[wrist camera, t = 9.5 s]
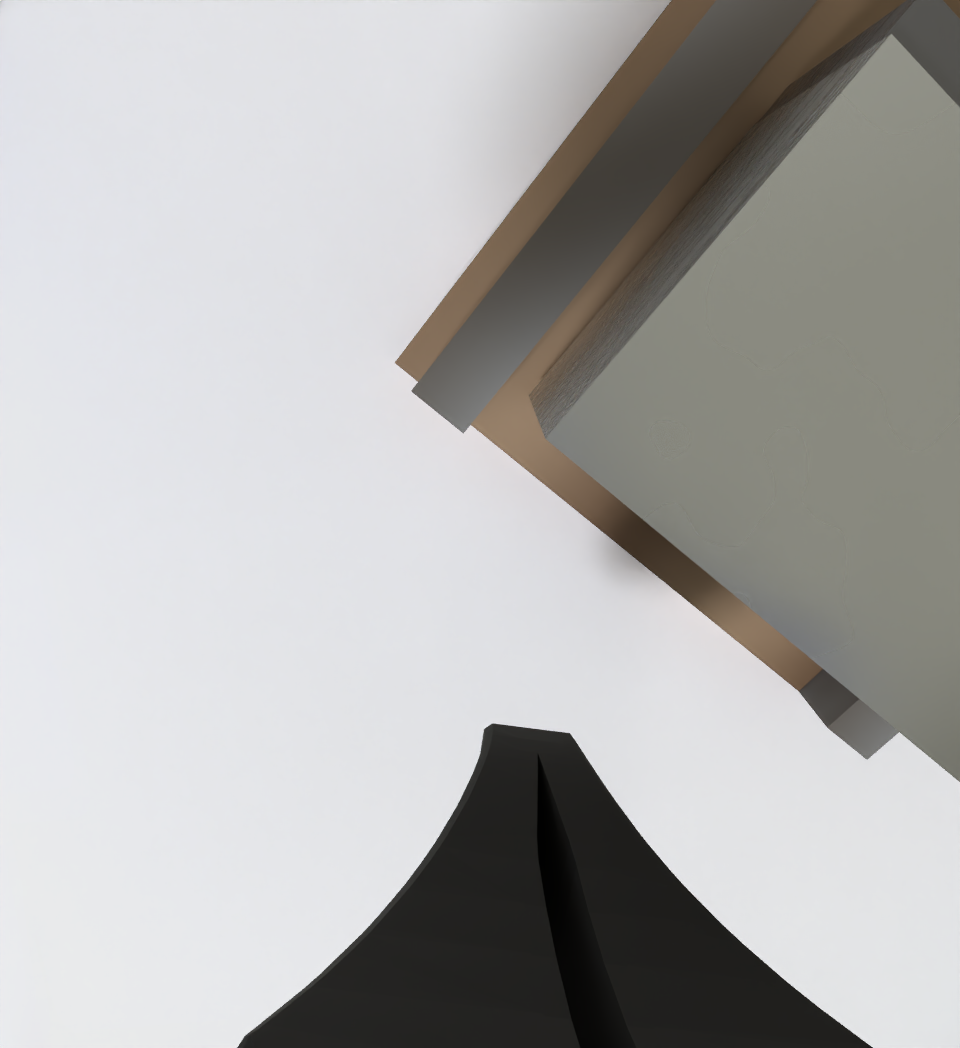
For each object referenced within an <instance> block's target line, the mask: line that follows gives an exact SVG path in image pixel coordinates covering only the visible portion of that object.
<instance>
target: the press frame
mask: <svg viewBox="0 0 960 1048" xmlns="http://www.w3.org/2000/svg"><path fill="white" fill-rule="evenodd" d="M905 1H906V0H672V1H671V2H670V3H669V5H668V6H667V7H666V8H665V10H664V11H663V12H662V14H661V15H660V16H659V18H658V19H657V20H656V22H655V23H654V24H653V25H652V27H651V28H650V29H649V31H648V32H647V33H646V35H645V36H644V37H643V39H642V40H641V41H640V43H639V44H638V45H637V46H636V48H635V49H634V50H633V52H632V53H631V54H630V56H629V57H628V58H627V60H626V61H625V62H624V63H623V65H622V66H621V67H620V69H619V70H618V71H617V73H616V74H615V75H614V77H613V78H612V79H611V80H610V82H609V83H608V84H607V86H606V87H605V88H604V90H603V91H602V92H601V94H600V95H599V96H598V97H597V99H596V100H595V101H594V103H593V104H592V105H591V107H590V108H589V109H588V111H587V112H586V113H585V114H584V116H583V117H582V118H581V120H580V121H579V122H578V124H577V125H576V126H575V128H574V129H573V130H572V131H571V133H570V134H569V135H568V137H567V138H566V139H565V141H564V142H563V143H562V145H561V146H560V147H559V149H558V150H557V151H556V152H555V154H554V155H553V156H552V158H551V159H550V160H549V162H548V163H547V164H546V166H545V167H544V168H543V169H542V171H541V172H540V173H539V175H538V176H537V177H536V179H535V180H534V181H533V183H532V184H531V185H530V186H529V188H528V189H527V190H526V192H525V193H524V194H523V196H522V197H521V198H520V200H519V201H518V202H517V203H516V205H515V206H514V207H513V209H512V210H511V211H510V213H509V214H508V215H507V217H506V218H505V219H504V220H503V222H502V223H501V224H500V226H499V227H498V228H497V230H496V231H495V232H494V234H493V235H492V236H491V237H490V239H489V240H488V241H487V243H486V244H485V245H484V247H483V248H482V249H481V251H480V252H479V253H478V255H477V256H476V257H475V258H474V260H473V261H472V262H471V264H470V265H469V266H468V268H467V269H466V270H465V272H464V273H463V274H462V275H461V277H460V278H459V279H458V281H457V282H456V283H455V285H454V286H453V287H452V289H451V290H450V291H449V292H448V294H447V295H446V296H445V298H444V299H443V300H442V302H441V303H440V304H439V306H438V307H437V308H436V309H435V311H434V312H433V313H432V315H431V316H430V317H429V319H428V320H427V321H426V323H425V324H424V325H423V326H422V328H421V329H420V330H419V332H418V333H417V334H416V336H415V337H414V338H413V340H412V341H411V342H410V343H409V345H408V346H407V347H406V349H405V350H404V351H403V353H402V354H401V355H400V357H399V358H398V359H397V361H396V362H395V363H396V364H397V365H398V366H399V367H401V368H402V369H403V370H404V371H406V372H407V373H408V374H409V375H410V376H412V377H413V378H414V379H415V380H417V381H418V383H417V384H416V386H415V387H414V388H413V389H412V392H413V393H414V394H415V395H417V396H418V397H419V398H420V399H422V400H423V401H424V402H425V403H426V404H428V405H429V406H430V407H431V408H433V409H434V410H435V411H436V412H438V413H439V414H440V415H441V416H443V417H444V418H445V419H446V420H448V421H449V422H450V423H451V424H452V425H454V426H455V427H456V428H457V429H459V430H460V431H461V432H462V433H464V432H465V431H466V430H467V428H468V427H469V426H470V425H472V426H473V427H474V428H476V429H477V430H478V431H479V432H481V433H482V434H483V435H484V436H485V437H487V438H488V439H489V440H490V441H492V442H493V443H494V444H495V445H497V446H498V447H499V448H500V449H501V450H503V451H504V452H505V453H506V454H508V455H509V456H510V457H511V458H513V459H514V460H515V461H516V462H517V463H519V464H520V465H521V466H522V467H524V468H525V469H526V470H527V471H529V472H530V473H531V474H532V475H533V476H535V477H536V478H537V479H538V480H540V481H541V482H542V483H543V484H545V485H546V486H547V487H548V488H549V489H551V490H552V491H553V492H554V493H556V494H557V495H558V496H559V497H561V498H562V499H563V500H564V501H565V502H567V503H568V504H569V505H570V506H572V507H573V508H574V509H575V510H577V511H578V512H579V513H580V514H581V515H583V516H584V517H585V518H586V519H588V520H589V521H590V522H591V523H592V524H594V525H595V526H596V527H597V528H599V529H600V530H601V531H602V532H604V533H605V534H606V535H607V536H608V537H610V538H611V539H612V540H613V541H615V542H616V543H617V544H618V545H620V546H621V547H622V548H623V549H624V550H626V551H627V552H628V553H629V554H631V555H632V556H633V557H634V558H636V559H637V560H638V561H639V562H640V563H642V564H643V565H644V566H645V567H647V568H648V569H649V570H650V571H652V572H653V573H654V574H655V575H656V576H658V577H659V578H660V579H661V580H663V581H664V582H665V583H666V584H668V585H669V586H670V587H671V588H672V589H674V590H675V591H676V592H677V593H679V594H680V595H681V596H682V597H684V598H685V599H686V600H687V601H688V602H690V603H691V604H692V605H693V606H695V607H696V608H697V609H698V610H699V611H701V612H702V613H703V614H704V615H706V616H707V617H708V618H709V619H711V620H712V621H713V622H714V623H715V624H717V625H718V626H719V627H720V628H722V629H723V630H724V631H725V632H727V633H728V634H729V635H730V636H731V637H733V638H734V639H735V640H736V641H738V642H739V643H740V644H741V645H743V646H744V647H745V648H746V649H747V650H749V651H750V652H751V653H752V654H754V655H755V656H756V657H757V658H759V659H760V660H761V661H762V662H763V663H765V664H766V665H767V666H768V667H770V668H771V669H772V670H773V671H775V672H776V673H777V674H778V675H779V676H781V677H782V678H783V679H784V680H786V681H787V682H788V683H789V684H791V685H792V686H793V687H794V688H795V689H797V690H798V691H799V692H800V693H801V695H802V696H803V697H804V698H805V700H806V701H807V702H808V704H809V705H810V706H811V707H812V709H813V710H814V711H815V712H816V714H817V715H818V716H819V718H820V719H821V720H822V721H823V723H824V724H825V725H826V726H827V728H829V729H830V730H831V731H832V732H833V733H835V734H836V735H837V736H838V737H840V738H841V739H842V740H843V741H845V742H846V743H847V744H848V745H850V746H851V747H852V748H853V749H854V750H856V751H857V752H858V753H859V754H861V755H862V756H863V757H864V758H866V759H869V758H870V757H871V756H872V755H873V754H874V753H875V752H877V751H878V750H879V749H880V748H881V747H882V746H884V745H885V744H886V743H887V742H888V741H889V740H890V739H892V738H893V737H894V736H895V735H896V734H897V733H899V731H898V730H896V729H895V728H894V727H893V726H892V725H890V724H889V723H888V722H887V721H886V720H884V719H883V718H882V717H881V716H879V715H878V714H877V713H876V712H875V711H873V710H872V709H871V708H870V707H869V706H867V705H866V704H865V703H864V702H863V701H861V700H860V699H859V698H858V697H857V696H855V695H854V694H853V693H852V692H851V691H849V690H848V689H847V688H846V687H844V686H843V685H842V684H841V683H840V682H838V681H837V680H836V679H835V678H834V677H832V676H831V675H830V674H829V673H828V672H826V671H825V670H824V669H823V668H822V667H820V666H819V665H818V664H817V663H815V662H814V661H813V660H812V659H811V658H809V657H808V656H807V655H806V654H805V653H803V652H802V651H801V650H800V649H799V648H797V647H796V646H795V645H794V644H793V643H791V642H790V641H789V640H788V639H786V638H785V637H784V636H783V635H782V634H780V633H779V632H778V631H777V630H776V629H774V628H773V627H772V626H771V625H770V624H768V623H767V622H766V621H765V620H764V619H762V618H761V617H760V616H759V615H758V614H756V613H755V612H754V611H753V610H751V609H750V608H749V607H748V606H747V605H745V604H744V603H743V602H742V601H741V600H739V599H738V598H737V597H736V596H735V595H733V594H732V593H731V592H730V591H729V590H727V589H726V588H725V587H724V586H722V585H721V584H720V583H719V582H718V581H716V580H715V579H714V578H713V577H712V576H710V575H709V574H708V573H707V572H706V571H704V570H703V569H702V568H701V567H700V566H698V565H697V564H696V563H695V562H694V561H692V560H691V559H690V558H689V557H687V556H686V555H685V554H684V553H683V552H681V551H680V550H679V549H678V548H677V547H675V546H674V545H673V544H672V543H671V542H669V541H668V540H667V539H666V538H665V537H663V536H662V535H661V534H660V533H658V532H657V531H656V530H655V529H654V528H652V527H651V526H650V525H649V524H648V523H646V522H645V521H644V520H643V519H642V518H640V517H639V516H638V515H637V514H636V513H634V512H633V511H632V510H631V509H629V508H628V507H627V506H626V505H625V504H623V503H622V502H621V501H620V500H619V499H617V498H616V497H615V496H614V495H613V494H611V493H610V492H609V491H608V490H607V489H605V488H604V487H603V486H602V485H601V484H599V483H598V482H597V481H596V480H594V479H593V478H592V477H591V476H590V475H588V474H587V473H586V472H585V471H584V470H582V469H581V468H580V467H579V466H578V465H576V464H575V463H574V462H573V461H572V460H570V459H569V458H568V457H567V456H565V455H564V454H563V453H562V452H561V451H559V450H558V449H557V448H556V447H555V446H553V445H552V444H551V443H550V442H549V441H547V440H546V439H545V437H544V434H543V432H542V429H541V426H540V424H539V421H538V419H537V416H536V414H535V411H534V408H533V406H532V403H531V401H530V398H529V396H528V395H529V394H530V393H531V392H532V391H533V389H534V388H535V387H536V386H537V385H538V383H539V382H540V381H541V380H542V379H543V377H544V376H545V375H546V374H547V373H548V371H549V370H550V369H551V368H552V367H553V365H554V364H555V363H556V362H557V361H558V359H559V358H560V357H561V356H562V355H563V353H564V352H565V351H566V350H567V348H568V347H569V346H570V345H571V344H572V342H573V341H574V340H575V339H576V338H577V336H578V335H579V334H580V333H581V332H582V330H583V329H584V328H585V327H586V326H587V324H588V323H589V322H590V321H591V320H592V318H593V317H594V316H595V315H596V314H597V312H598V311H599V310H600V309H601V308H602V306H603V305H604V304H605V303H606V302H607V300H608V299H609V298H610V297H611V296H612V294H613V293H614V292H615V291H616V290H617V288H618V287H619V286H620V285H621V284H622V282H623V281H624V280H625V279H626V278H627V276H628V275H629V274H630V273H631V272H632V270H633V269H634V268H635V267H636V266H637V264H638V263H639V262H640V261H641V260H642V258H643V257H644V256H645V255H646V254H647V252H648V251H649V250H650V249H651V247H652V246H653V245H654V244H655V243H656V241H657V240H658V239H659V238H660V237H661V235H662V234H663V233H664V232H665V231H666V229H667V228H668V227H669V226H670V225H671V223H672V222H673V221H674V220H675V219H676V217H677V216H678V215H679V214H680V213H681V211H682V210H683V209H684V208H685V207H686V205H687V204H688V203H689V202H690V201H691V199H692V198H693V197H694V196H695V195H696V193H697V192H698V191H699V190H700V189H701V187H702V186H703V185H704V184H705V183H706V181H707V180H708V179H709V178H710V177H711V175H712V174H713V173H714V172H715V171H716V169H717V168H718V167H719V166H720V165H721V163H722V162H723V161H724V160H725V159H726V157H727V156H728V155H729V154H730V152H731V151H732V150H733V149H734V148H735V146H736V145H737V144H738V143H739V142H740V140H741V139H742V138H743V137H744V136H745V134H746V133H747V132H748V131H749V130H750V128H751V127H752V126H753V125H755V124H756V123H758V121H759V120H760V119H761V118H762V117H763V115H764V114H765V113H766V112H767V111H768V109H769V108H770V107H771V106H772V105H773V103H774V102H775V101H776V100H777V99H778V97H779V96H780V95H781V94H782V93H783V91H784V90H785V89H786V88H787V87H788V86H789V85H790V84H791V83H793V82H794V81H796V80H797V79H798V78H800V77H801V76H802V75H804V74H805V73H807V72H808V71H809V70H811V69H812V68H814V67H815V66H816V65H818V64H819V63H820V62H822V61H823V60H825V59H826V58H827V57H829V56H830V55H832V54H833V53H834V52H836V51H837V50H839V49H840V48H841V47H843V46H844V45H845V44H847V43H848V42H850V41H851V40H852V39H854V38H855V37H857V36H858V35H859V34H861V33H862V32H863V31H865V30H866V29H868V28H869V27H870V26H872V25H873V24H875V23H876V22H877V21H879V20H880V19H881V18H883V17H884V16H886V15H887V14H888V13H890V12H891V11H893V10H894V9H895V8H897V7H898V6H900V5H901V4H902V3H904V2H905ZM943 1H944V2H945V3H946V4H947V5H948V6H949V7H950V9H951V10H952V11H953V12H954V13H955V14H956V15H957V16H958V17H959V19H960V0H943Z"/></svg>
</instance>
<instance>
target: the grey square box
mask: <svg viewBox="0 0 960 1048" xmlns="http://www.w3.org/2000/svg"><path fill="white" fill-rule="evenodd" d="M528 396H529V398H530V401H531V403H532V406H533V408H534V411H535V414H536V416H537V419H538V421H539V424H540V426H541V429H542V432H543V434H544V437H545V439H546V440H547V441H549V442H550V443H551V444H552V445H553V446H555V447H556V448H557V449H558V450H559V451H561V452H562V453H563V454H564V455H565V456H567V457H568V458H569V459H570V460H572V461H573V462H574V463H575V464H576V465H578V466H579V467H580V468H581V469H582V470H584V471H585V472H586V473H587V474H588V475H590V476H591V477H592V478H593V479H594V480H596V481H597V482H598V483H599V484H601V485H602V486H603V487H604V488H605V489H607V490H608V491H609V492H610V493H611V494H613V495H614V496H615V497H616V498H617V499H619V500H620V501H621V502H622V503H623V504H625V505H626V506H627V507H628V508H629V509H631V510H632V511H633V512H634V513H636V514H637V515H638V516H639V517H640V518H642V519H643V520H644V521H645V522H646V523H648V524H649V525H650V526H651V527H652V528H654V529H655V530H656V531H657V532H658V533H660V534H661V535H662V536H663V537H665V538H666V539H667V540H668V541H669V542H671V543H672V544H673V545H674V546H675V547H677V548H678V549H679V550H680V551H681V552H683V553H684V554H685V555H686V556H687V557H689V558H690V559H691V560H692V561H694V562H695V563H696V564H697V565H698V566H700V567H701V568H702V569H703V570H704V571H706V572H707V573H708V574H709V575H710V576H712V577H713V578H714V579H715V580H716V581H718V582H719V583H720V584H721V585H722V586H724V587H725V588H726V589H727V590H729V591H730V592H731V593H732V594H733V595H735V596H736V597H737V598H738V599H739V600H741V601H742V602H743V603H744V604H745V605H747V606H748V607H749V608H750V609H751V610H753V611H754V612H755V613H756V614H758V615H759V616H760V617H761V618H762V619H764V620H765V621H766V622H767V623H768V624H770V625H771V626H772V627H773V628H774V629H776V630H777V631H778V632H779V633H780V634H782V635H783V636H784V637H785V638H786V639H788V640H789V641H790V642H791V643H793V644H794V645H795V646H796V647H797V648H799V649H800V650H801V651H802V652H803V653H805V654H806V655H807V656H808V657H809V658H811V659H812V660H813V661H814V662H815V663H817V664H818V665H819V666H820V667H822V668H823V669H824V670H825V671H826V672H828V673H829V674H830V675H831V676H832V677H834V678H835V679H836V680H837V681H838V682H840V683H841V684H842V685H843V686H844V687H846V688H847V689H848V690H849V691H851V692H852V693H853V694H854V695H855V696H857V697H858V698H859V699H860V700H861V701H863V702H864V703H865V704H866V705H867V706H869V707H870V708H871V709H872V710H873V711H875V712H876V713H877V714H878V715H879V716H881V717H882V718H883V719H884V720H886V721H887V722H888V723H889V724H890V725H892V726H893V727H894V728H895V729H896V730H898V731H899V732H900V733H901V734H902V735H904V736H905V737H906V738H907V739H908V740H910V741H911V742H912V743H913V744H915V745H916V746H917V747H918V748H919V749H921V750H922V751H923V752H924V753H925V754H927V755H928V756H929V757H930V758H931V759H933V760H934V761H935V762H936V763H937V764H939V765H940V766H941V767H942V768H943V769H945V770H946V771H947V772H948V773H950V774H951V775H952V776H953V777H954V778H956V779H957V780H958V781H959V782H960V19H959V17H958V16H957V15H956V14H955V13H954V12H953V11H952V10H951V9H950V7H949V6H948V5H947V4H946V3H945V2H944V1H943V0H906V1H905V2H904V3H902V4H901V5H900V6H898V7H897V8H895V9H894V10H893V11H891V12H890V13H888V14H887V15H886V16H884V17H883V18H881V19H880V20H879V21H877V22H876V23H875V24H873V25H872V26H870V27H869V28H868V29H866V30H865V31H863V32H862V33H861V34H859V35H858V36H857V37H855V38H854V39H852V40H851V41H850V42H848V43H847V44H845V45H844V46H843V47H841V48H840V49H839V50H837V51H836V52H834V53H833V54H832V55H830V56H829V57H827V58H826V59H825V60H823V61H822V62H820V63H819V64H818V65H816V66H815V67H814V68H812V69H811V70H809V71H808V72H807V73H805V74H804V75H802V76H801V77H800V78H798V79H797V80H796V81H794V82H793V83H791V84H790V85H789V86H788V87H787V88H786V89H785V90H784V91H783V93H782V94H781V95H780V96H779V97H778V99H777V100H776V101H775V102H774V103H773V105H772V106H771V107H770V108H769V109H768V111H767V112H766V113H765V114H764V115H763V117H762V118H761V119H760V120H759V121H758V123H756V124H755V125H753V126H752V127H751V128H750V130H749V131H748V132H747V133H746V134H745V136H744V137H743V138H742V139H741V140H740V142H739V143H738V144H737V145H736V146H735V148H734V149H733V150H732V151H731V152H730V154H729V155H728V156H727V157H726V159H725V160H724V161H723V162H722V163H721V165H720V166H719V167H718V168H717V169H716V171H715V172H714V173H713V174H712V175H711V177H710V178H709V179H708V180H707V181H706V183H705V184H704V185H703V186H702V187H701V189H700V190H699V191H698V192H697V193H696V195H695V196H694V197H693V198H692V199H691V201H690V202H689V203H688V204H687V205H686V207H685V208H684V209H683V210H682V211H681V213H680V214H679V215H678V216H677V217H676V219H675V220H674V221H673V222H672V223H671V225H670V226H669V227H668V228H667V229H666V231H665V232H664V233H663V234H662V235H661V237H660V238H659V239H658V240H657V241H656V243H655V244H654V245H653V246H652V247H651V249H650V250H649V251H648V252H647V254H646V255H645V256H644V257H643V258H642V260H641V261H640V262H639V263H638V264H637V266H636V267H635V268H634V269H633V270H632V272H631V273H630V274H629V275H628V276H627V278H626V279H625V280H624V281H623V282H622V284H621V285H620V286H619V287H618V288H617V290H616V291H615V292H614V293H613V294H612V296H611V297H610V298H609V299H608V300H607V302H606V303H605V304H604V305H603V306H602V308H601V309H600V310H599V311H598V312H597V314H596V315H595V316H594V317H593V318H592V320H591V321H590V322H589V323H588V324H587V326H586V327H585V328H584V329H583V330H582V332H581V333H580V334H579V335H578V336H577V338H576V339H575V340H574V341H573V342H572V344H571V345H570V346H569V347H568V348H567V350H566V351H565V352H564V353H563V355H562V356H561V357H560V358H559V359H558V361H557V362H556V363H555V364H554V365H553V367H552V368H551V369H550V370H549V371H548V373H547V374H546V375H545V376H544V377H543V379H542V380H541V381H540V382H539V383H538V385H537V386H536V387H535V388H534V389H533V391H532V392H531V393H530V394H529V395H528Z"/></svg>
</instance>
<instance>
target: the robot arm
mask: <svg viewBox="0 0 960 1048" xmlns="http://www.w3.org/2000/svg"><path fill="white" fill-rule="evenodd" d="M237 1048H873V1047H871V1046H870V1045H868V1044H867V1043H866V1042H864V1041H863V1040H862V1039H860V1038H859V1037H858V1036H856V1035H855V1034H853V1033H852V1032H851V1031H849V1030H848V1029H847V1028H845V1027H844V1026H843V1025H841V1024H840V1023H839V1022H837V1021H836V1020H835V1019H833V1018H832V1017H831V1016H829V1015H828V1014H827V1013H825V1012H824V1011H823V1010H821V1009H820V1008H819V1007H817V1006H816V1005H815V1004H814V1003H812V1002H811V1001H810V1000H809V999H807V998H806V997H805V996H804V995H802V994H801V993H800V992H799V991H797V990H796V989H795V988H794V987H792V986H791V985H790V984H789V983H787V982H786V981H785V980H784V979H783V978H782V977H780V976H779V975H778V974H777V973H776V972H775V971H773V970H772V969H771V968H770V967H769V966H768V965H767V964H765V963H764V962H763V961H762V960H761V959H760V958H759V957H757V956H756V955H755V954H754V953H753V952H752V951H750V950H749V949H748V948H747V947H746V946H745V945H744V944H742V943H741V942H740V941H739V940H738V939H737V938H736V937H735V936H734V935H733V934H732V933H731V932H730V931H728V930H727V929H726V928H725V927H724V926H723V925H722V924H721V923H720V922H719V921H718V920H717V919H716V918H715V917H714V916H713V915H712V914H711V913H710V912H709V911H708V910H707V909H706V908H705V907H704V906H703V905H702V904H701V903H700V902H699V901H698V900H697V899H696V898H695V897H694V896H693V895H692V894H691V893H690V892H689V891H688V889H687V888H686V887H685V886H684V885H683V884H682V883H681V882H680V881H679V880H678V879H677V878H676V876H675V875H674V874H673V873H672V872H671V871H670V870H669V869H668V867H667V866H666V865H665V864H664V863H663V861H662V860H661V859H660V858H659V857H658V855H657V854H656V853H655V852H654V851H653V850H652V848H651V847H650V846H649V845H648V844H647V842H646V841H645V840H644V839H643V837H642V836H641V835H640V833H639V832H638V831H637V830H636V828H635V827H634V825H633V824H632V823H631V821H630V820H629V819H628V817H627V816H626V815H625V813H624V812H623V811H622V809H621V808H620V807H619V805H618V804H617V802H616V801H615V800H614V798H613V797H612V795H611V794H610V792H609V791H608V790H607V788H606V787H605V785H604V784H603V782H602V781H601V779H600V778H599V776H598V775H597V773H596V772H595V770H594V769H593V767H592V766H591V764H590V763H589V761H588V760H587V758H586V757H585V755H584V753H583V752H582V750H581V749H580V747H579V746H578V744H577V743H576V741H575V740H574V738H573V737H572V736H571V734H570V733H563V732H555V731H547V730H539V729H531V728H523V727H516V726H508V725H500V724H491V725H490V726H488V727H487V728H485V729H484V734H483V740H482V747H481V753H480V756H479V759H478V762H477V764H476V767H475V770H474V772H473V775H472V777H471V779H470V781H469V783H468V785H467V787H466V789H465V791H464V793H463V795H462V798H461V800H460V802H459V803H458V805H457V807H456V809H455V811H454V812H453V814H452V816H451V817H450V819H449V821H448V822H447V824H446V826H445V827H444V829H443V831H442V832H441V834H440V836H439V837H438V839H437V841H436V842H435V844H434V845H433V847H432V848H431V850H430V851H429V853H428V854H427V855H426V857H425V858H424V860H423V861H422V863H421V864H420V865H419V867H418V868H417V869H416V871H415V872H414V873H413V875H412V876H411V877H410V879H409V880H408V881H407V883H406V884H405V885H404V886H403V888H402V889H401V890H400V891H399V892H398V893H397V895H396V896H395V897H394V898H393V899H392V901H391V902H390V903H389V904H388V905H387V907H386V908H385V909H384V910H383V911H382V912H381V914H380V915H379V916H378V917H377V918H376V919H375V920H374V921H373V922H372V924H371V925H370V926H369V927H368V928H367V929H366V930H365V931H364V932H363V933H362V934H361V935H360V936H359V937H358V938H357V939H356V940H355V941H354V942H353V943H352V944H351V945H350V946H349V947H348V948H347V949H346V950H345V951H344V952H343V953H342V954H341V955H340V956H339V957H337V958H336V959H335V960H334V961H333V962H332V963H331V964H330V965H329V966H328V967H327V968H326V969H325V970H324V971H323V972H322V973H321V974H320V975H319V976H318V977H317V978H315V979H314V980H313V981H312V982H311V983H310V984H309V985H308V986H306V987H305V988H304V989H303V990H302V991H300V992H299V993H298V994H297V995H295V996H294V997H293V998H292V999H290V1000H289V1001H288V1002H287V1003H286V1004H284V1005H283V1006H282V1007H281V1008H279V1009H278V1010H277V1011H276V1012H274V1013H273V1014H272V1015H271V1016H269V1017H268V1018H267V1019H266V1020H264V1021H263V1022H262V1023H261V1024H260V1025H258V1026H257V1027H256V1028H255V1029H253V1030H252V1031H251V1032H249V1033H248V1034H247V1035H246V1036H245V1037H244V1038H243V1040H242V1041H241V1043H240V1044H239V1046H238V1047H237Z"/></svg>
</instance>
